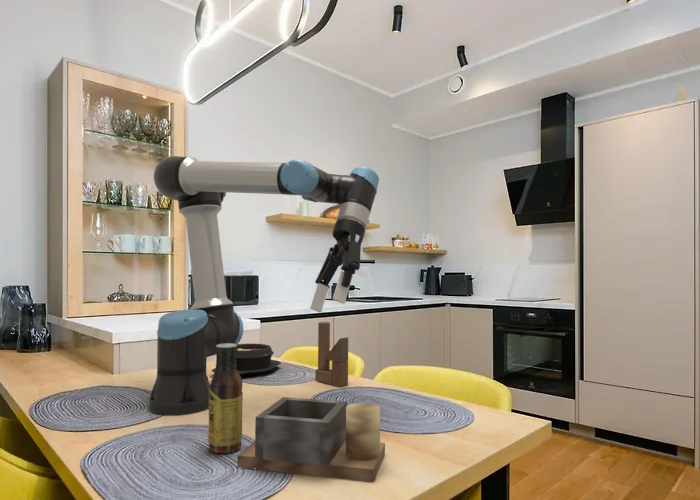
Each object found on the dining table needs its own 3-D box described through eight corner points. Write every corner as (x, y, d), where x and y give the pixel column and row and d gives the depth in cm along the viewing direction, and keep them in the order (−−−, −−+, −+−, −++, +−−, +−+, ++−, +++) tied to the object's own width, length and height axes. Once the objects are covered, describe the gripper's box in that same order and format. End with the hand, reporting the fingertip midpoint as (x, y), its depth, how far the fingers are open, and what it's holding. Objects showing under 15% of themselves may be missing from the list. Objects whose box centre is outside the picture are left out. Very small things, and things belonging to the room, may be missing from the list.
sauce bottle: (211, 443, 94) (213, 341, 94) (244, 442, 94) (245, 341, 95) (204, 456, 87) (206, 347, 88) (239, 455, 88) (240, 347, 88)
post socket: (236, 468, 82) (236, 409, 82) (265, 441, 95) (266, 390, 95) (373, 483, 76) (373, 420, 77) (385, 452, 89) (385, 398, 90)
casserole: (240, 383, 142) (240, 355, 142) (198, 375, 152) (198, 349, 152) (293, 369, 163) (293, 344, 163) (253, 362, 173) (254, 339, 173)
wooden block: (339, 387, 138) (340, 325, 138) (314, 381, 145) (315, 322, 146) (348, 385, 140) (348, 324, 141) (323, 379, 148) (324, 321, 148)
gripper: (389, 215, 106) (365, 303, 98) (343, 244, 128) (320, 318, 120) (360, 201, 104) (333, 290, 96) (318, 233, 126) (293, 308, 117)
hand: (326, 306), depth 108 cm, fingers open, 13 cm apart
